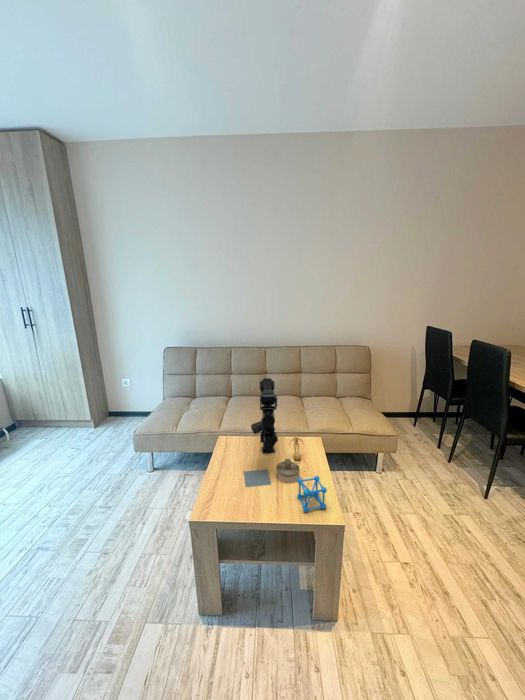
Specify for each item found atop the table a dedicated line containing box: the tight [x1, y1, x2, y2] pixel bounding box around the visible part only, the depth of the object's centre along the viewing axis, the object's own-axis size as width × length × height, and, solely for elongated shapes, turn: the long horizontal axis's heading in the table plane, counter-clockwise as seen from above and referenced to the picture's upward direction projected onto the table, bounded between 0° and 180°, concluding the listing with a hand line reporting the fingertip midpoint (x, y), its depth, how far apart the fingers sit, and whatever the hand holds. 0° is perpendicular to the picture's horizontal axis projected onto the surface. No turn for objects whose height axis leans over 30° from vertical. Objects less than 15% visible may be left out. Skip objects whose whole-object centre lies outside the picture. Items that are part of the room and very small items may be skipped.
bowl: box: [276, 471, 300, 484], centre depth 145 cm, size 10×10×4 cm
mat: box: [243, 468, 272, 488], centre depth 144 cm, size 12×12×1 cm
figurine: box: [288, 436, 305, 461], centre depth 159 cm, size 8×6×12 cm
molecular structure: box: [296, 475, 328, 513], centre depth 126 cm, size 10×10×10 cm
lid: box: [276, 458, 300, 477], centre depth 144 cm, size 11×11×5 cm
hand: (268, 446), depth 150 cm, fingers open, 9 cm apart
